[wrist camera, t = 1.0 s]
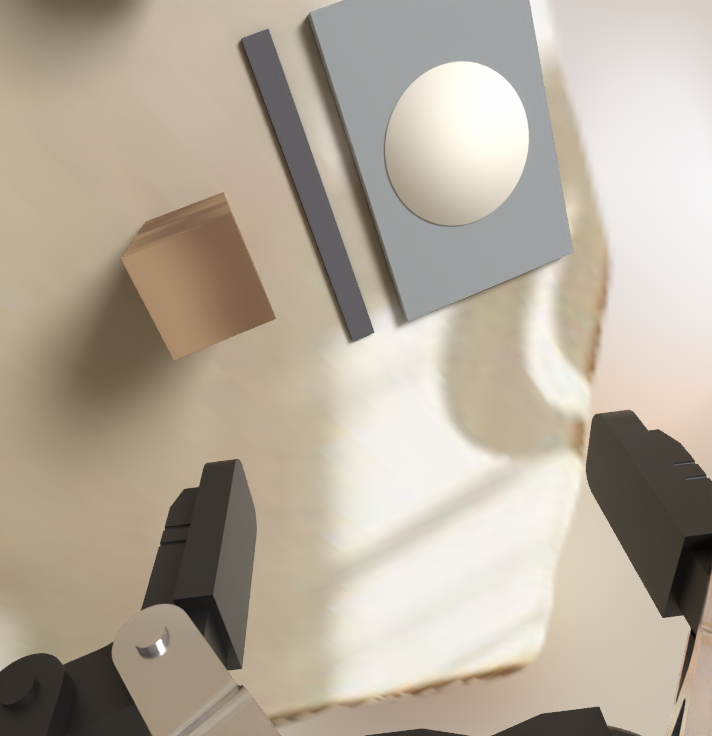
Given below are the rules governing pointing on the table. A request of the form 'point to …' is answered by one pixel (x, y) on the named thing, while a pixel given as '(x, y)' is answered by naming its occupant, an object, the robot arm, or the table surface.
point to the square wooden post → (197, 276)
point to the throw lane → (430, 145)
